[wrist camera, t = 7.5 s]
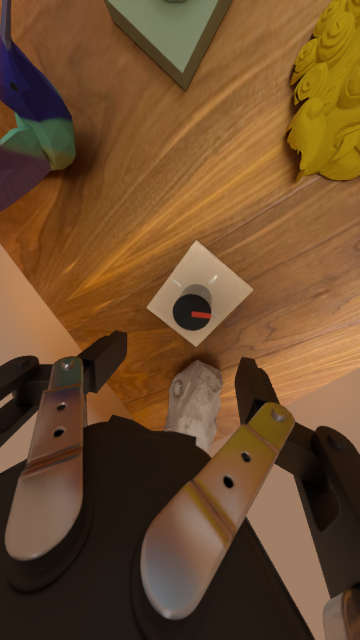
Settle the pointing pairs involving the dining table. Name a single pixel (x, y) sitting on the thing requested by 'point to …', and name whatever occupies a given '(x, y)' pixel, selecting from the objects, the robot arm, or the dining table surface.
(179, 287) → the panel
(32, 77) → the decorative sculpture
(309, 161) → the door knocker
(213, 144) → the dining table surface
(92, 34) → the dining table surface
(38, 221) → the dining table surface
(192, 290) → the knob
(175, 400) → the fossil
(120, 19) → the button box
